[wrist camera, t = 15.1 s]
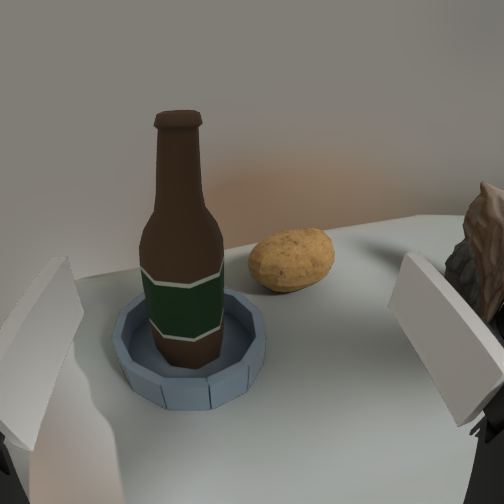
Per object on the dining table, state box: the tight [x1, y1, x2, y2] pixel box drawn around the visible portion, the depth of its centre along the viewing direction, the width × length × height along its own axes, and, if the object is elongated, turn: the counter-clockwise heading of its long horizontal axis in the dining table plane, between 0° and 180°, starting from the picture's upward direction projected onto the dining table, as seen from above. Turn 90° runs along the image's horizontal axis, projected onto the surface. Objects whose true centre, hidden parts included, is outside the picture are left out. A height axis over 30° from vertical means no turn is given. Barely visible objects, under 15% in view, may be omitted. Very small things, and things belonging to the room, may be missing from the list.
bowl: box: [111, 288, 266, 410], centre depth 32 cm, size 16×16×4 cm
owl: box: [445, 182, 504, 323], centre depth 38 cm, size 13×13×20 cm
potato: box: [248, 228, 334, 292], centre depth 44 cm, size 10×14×8 cm
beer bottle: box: [139, 110, 224, 369], centre depth 27 cm, size 8×8×24 cm
